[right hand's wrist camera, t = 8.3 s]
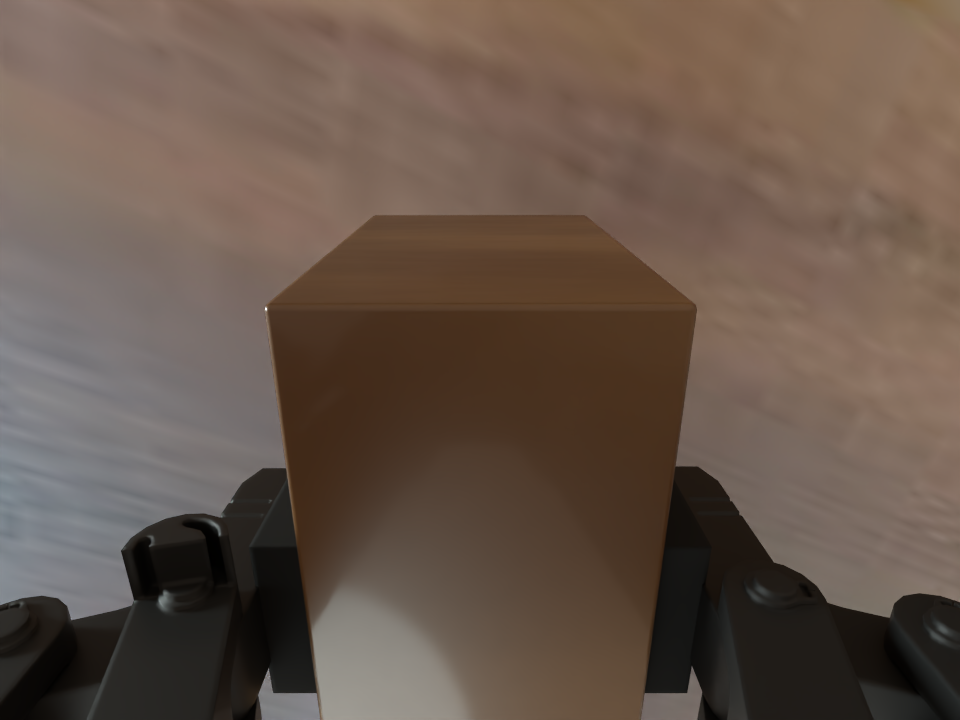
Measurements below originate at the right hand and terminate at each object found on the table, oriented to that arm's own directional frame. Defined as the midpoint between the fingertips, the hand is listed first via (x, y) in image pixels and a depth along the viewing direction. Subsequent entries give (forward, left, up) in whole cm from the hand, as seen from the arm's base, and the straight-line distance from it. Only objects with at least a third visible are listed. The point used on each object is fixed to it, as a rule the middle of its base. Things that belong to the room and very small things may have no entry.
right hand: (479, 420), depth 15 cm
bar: (-10, +29, -1) cm, 31 cm away
